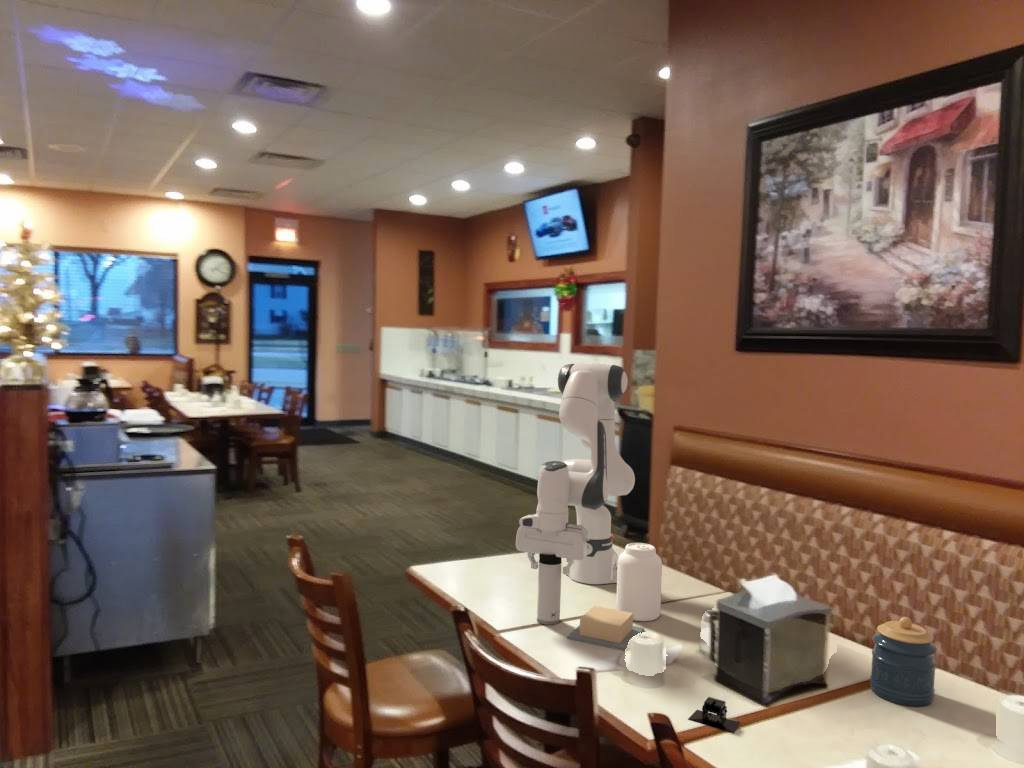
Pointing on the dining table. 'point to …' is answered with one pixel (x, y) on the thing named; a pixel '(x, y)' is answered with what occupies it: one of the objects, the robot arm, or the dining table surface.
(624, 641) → the tan block on plate
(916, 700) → the canister
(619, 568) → the white jar
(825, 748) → the dining table surface
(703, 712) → the build plate
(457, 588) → the dining table surface
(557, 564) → the travel mug
